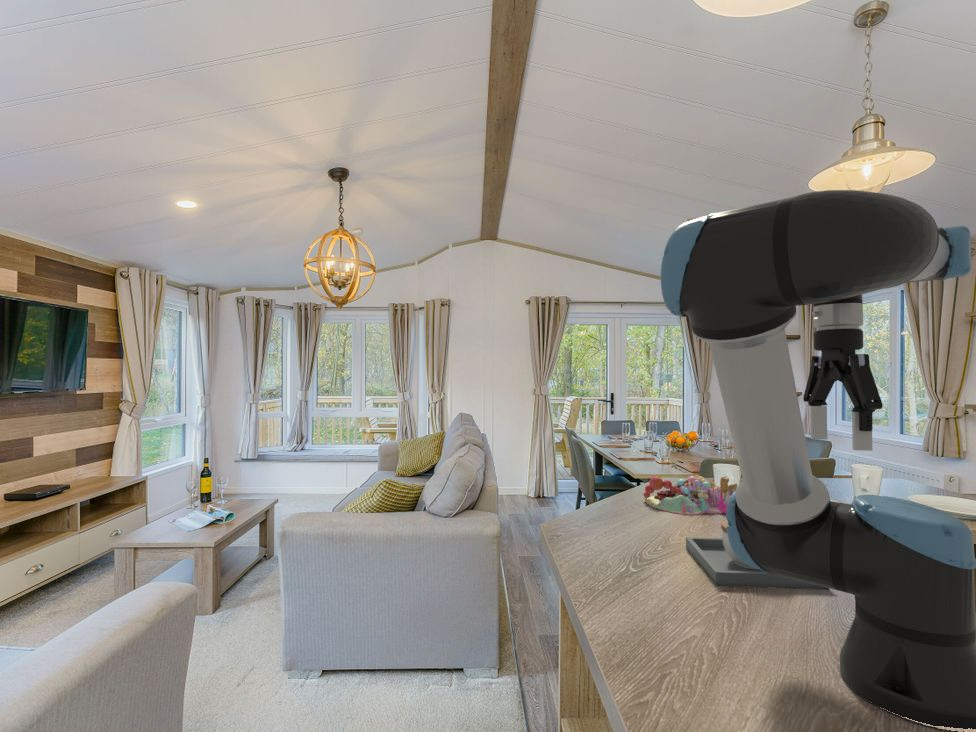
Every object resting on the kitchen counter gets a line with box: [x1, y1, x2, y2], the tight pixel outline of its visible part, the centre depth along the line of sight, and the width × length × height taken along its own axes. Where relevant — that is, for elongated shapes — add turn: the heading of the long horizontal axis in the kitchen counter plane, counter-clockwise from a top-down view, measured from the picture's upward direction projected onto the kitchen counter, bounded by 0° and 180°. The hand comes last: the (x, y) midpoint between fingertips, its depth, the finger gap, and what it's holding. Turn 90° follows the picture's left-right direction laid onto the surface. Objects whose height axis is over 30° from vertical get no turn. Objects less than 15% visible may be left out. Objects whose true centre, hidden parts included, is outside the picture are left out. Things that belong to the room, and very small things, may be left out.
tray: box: [685, 536, 830, 591], centre depth 104 cm, size 20×20×2 cm
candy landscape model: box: [643, 474, 738, 516], centre depth 152 cm, size 25×24×9 cm
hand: (839, 444), depth 93 cm, fingers open, 13 cm apart
